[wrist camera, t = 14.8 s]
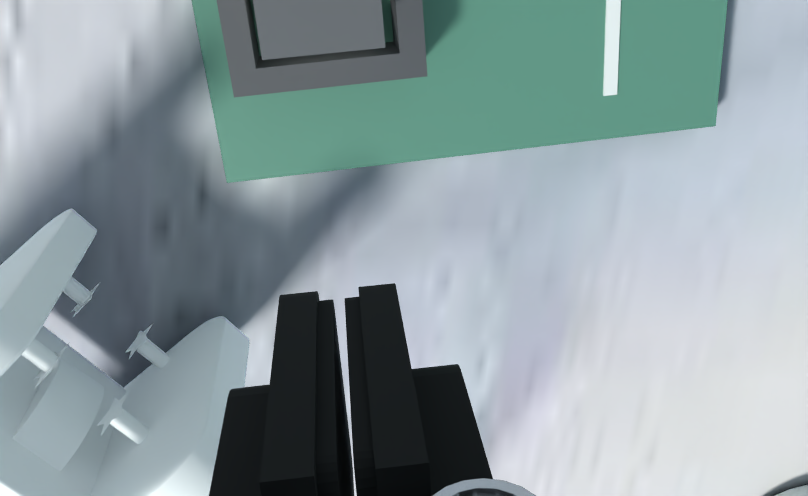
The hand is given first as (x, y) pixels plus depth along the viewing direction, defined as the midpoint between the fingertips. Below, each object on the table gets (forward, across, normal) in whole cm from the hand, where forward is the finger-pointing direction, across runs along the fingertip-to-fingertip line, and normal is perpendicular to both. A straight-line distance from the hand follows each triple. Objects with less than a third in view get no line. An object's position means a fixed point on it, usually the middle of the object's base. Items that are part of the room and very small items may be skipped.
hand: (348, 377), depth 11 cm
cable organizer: (+24, +14, +13) cm, 31 cm away
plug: (+23, 0, -4) cm, 23 cm away
